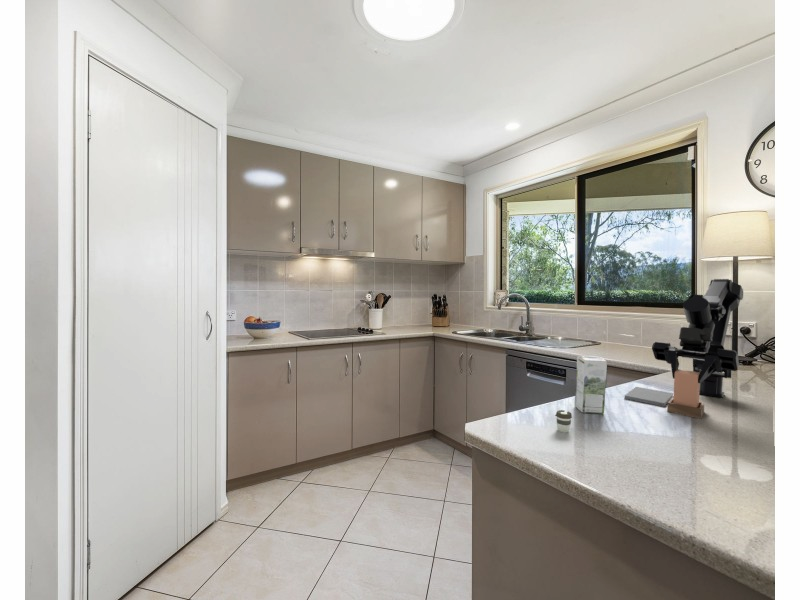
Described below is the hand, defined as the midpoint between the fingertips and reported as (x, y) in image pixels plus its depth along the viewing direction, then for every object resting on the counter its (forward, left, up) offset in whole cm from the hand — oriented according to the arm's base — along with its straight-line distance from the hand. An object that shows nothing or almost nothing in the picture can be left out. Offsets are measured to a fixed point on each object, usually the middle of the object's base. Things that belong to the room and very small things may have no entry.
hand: (686, 379), depth 103 cm
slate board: (-9, -10, -9) cm, 16 cm away
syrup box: (+17, -19, -9) cm, 27 cm away
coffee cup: (+36, -18, -10) cm, 42 cm away
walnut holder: (-1, 0, -9) cm, 9 cm away
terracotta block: (-1, 0, -7) cm, 7 cm away
